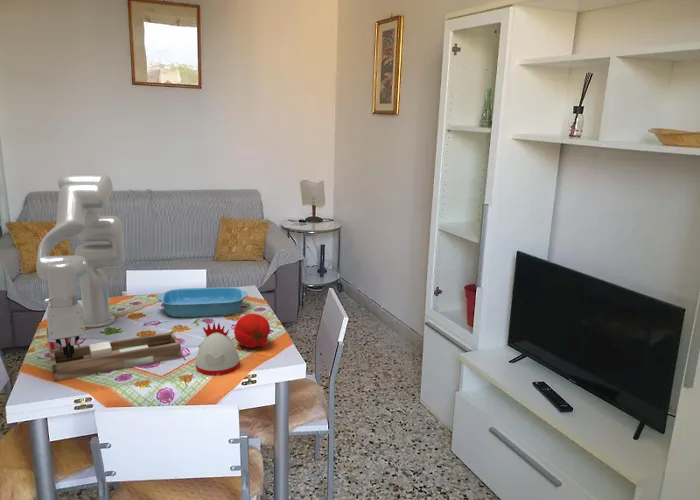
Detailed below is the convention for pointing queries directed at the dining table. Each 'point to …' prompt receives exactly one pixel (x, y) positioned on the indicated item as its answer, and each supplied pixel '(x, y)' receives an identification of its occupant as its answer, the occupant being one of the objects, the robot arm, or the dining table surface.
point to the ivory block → (100, 349)
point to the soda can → (55, 345)
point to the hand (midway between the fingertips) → (69, 356)
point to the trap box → (116, 356)
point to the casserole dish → (202, 301)
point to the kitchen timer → (217, 353)
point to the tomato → (252, 330)
